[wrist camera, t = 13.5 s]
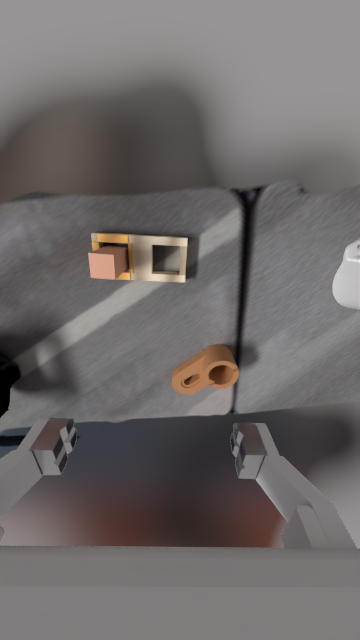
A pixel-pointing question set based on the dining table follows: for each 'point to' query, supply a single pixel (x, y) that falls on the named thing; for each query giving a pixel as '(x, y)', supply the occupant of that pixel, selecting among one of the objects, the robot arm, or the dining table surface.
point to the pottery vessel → (6, 382)
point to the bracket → (206, 370)
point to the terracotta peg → (108, 262)
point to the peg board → (144, 255)
